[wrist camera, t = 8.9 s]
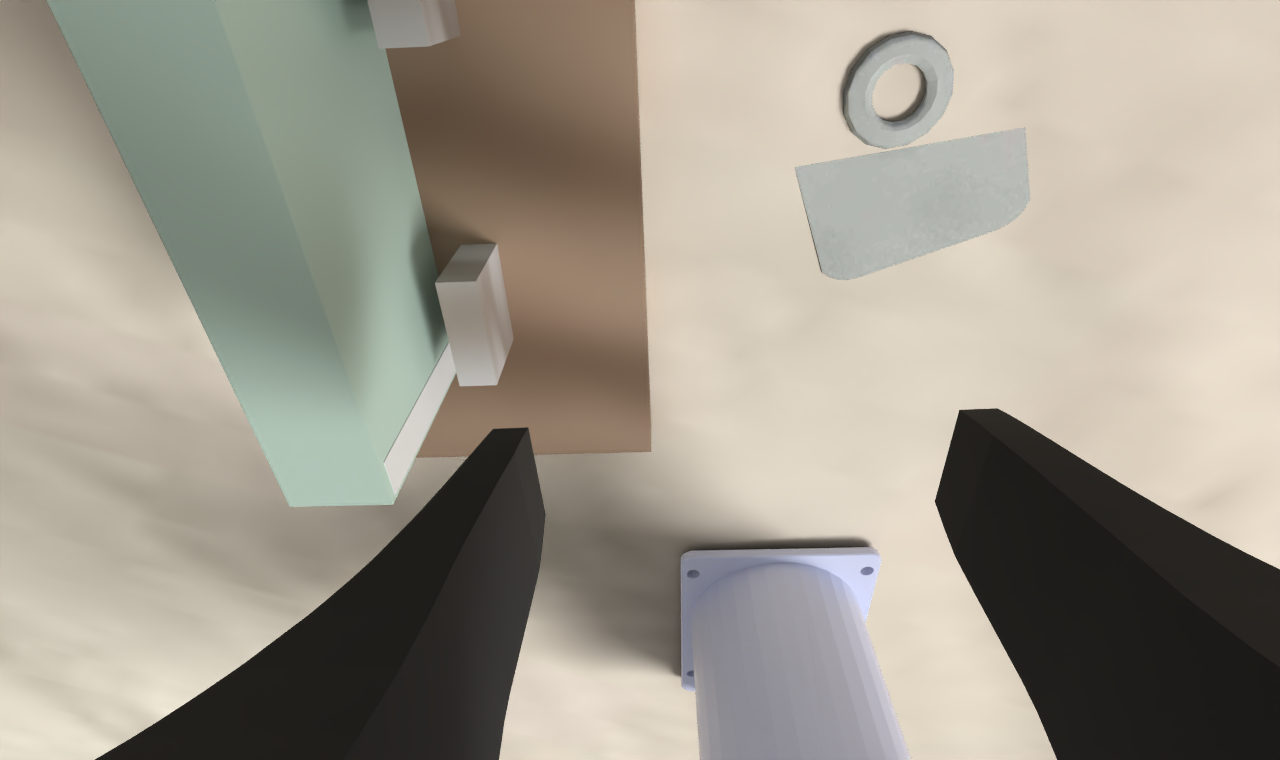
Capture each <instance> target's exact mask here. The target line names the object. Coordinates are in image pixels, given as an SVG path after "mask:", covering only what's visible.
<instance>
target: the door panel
mask: <svg viewBox="0 0 1280 760" xmlns="http://www.w3.org/2000/svg"><path fill="white" fill-rule="evenodd" d="M47 2H48V5H49V7H50V9H51V11H52V13H53V15H54V17H55V19H56V21H57V23H58V25H59V27H60V30H61V32H62V34H63V36H64V38H65V40H66V42H67V44H68V46H69V48H70V50H71V52H72V55H73V57H74V59H75V61H76V63H77V65H78V67H79V69H80V71H81V73H82V75H83V77H84V79H85V82H86V84H87V86H88V88H89V90H90V92H91V94H92V96H93V98H94V100H95V102H96V104H97V107H98V109H99V111H100V113H101V115H102V117H103V119H104V121H105V123H106V125H107V127H108V129H109V132H110V134H111V136H112V138H113V140H114V142H115V144H116V146H117V148H118V150H119V152H120V154H121V157H122V159H123V161H124V163H125V165H126V167H127V169H128V171H129V173H130V175H131V177H132V179H133V181H134V184H135V186H136V188H137V190H138V192H139V194H140V196H141V198H142V200H143V202H144V204H145V206H146V209H147V211H148V213H149V215H150V217H151V219H152V221H153V223H154V225H155V227H156V229H157V231H158V234H159V236H160V238H161V240H162V242H163V244H164V246H165V248H166V250H167V252H168V254H169V256H170V259H171V261H172V263H173V265H174V267H175V269H176V271H177V273H178V275H179V277H180V279H181V281H182V283H183V286H184V288H185V290H186V292H187V294H188V296H189V298H190V300H191V302H192V304H193V306H194V308H195V311H196V313H197V315H198V317H199V319H200V321H201V323H202V325H203V327H204V329H205V331H206V333H207V336H208V338H209V340H210V342H211V344H212V346H213V348H214V350H215V352H216V354H217V356H218V358H219V361H220V363H221V365H222V367H223V369H224V371H225V373H226V375H227V377H228V379H229V381H230V383H231V386H232V388H233V390H234V392H235V394H236V396H237V398H238V400H239V402H240V404H241V406H242V408H243V410H244V413H245V415H246V417H247V419H248V421H249V423H250V425H251V427H252V429H253V431H254V433H255V435H256V438H257V440H258V442H259V444H260V446H261V448H262V450H263V452H264V454H265V456H266V458H267V460H268V463H269V465H270V467H271V469H272V471H273V473H274V475H275V477H276V479H277V481H278V483H279V485H280V488H281V490H282V492H283V494H284V496H285V498H286V500H287V502H288V504H289V506H290V507H314V506H358V505H393V504H394V502H395V500H396V498H397V496H398V493H399V491H400V489H401V487H402V485H403V483H404V481H405V479H406V477H407V475H408V473H409V470H410V468H411V466H412V464H413V462H414V460H415V458H416V456H417V454H418V452H419V450H420V448H421V445H422V443H423V441H424V439H425V437H426V435H427V433H428V431H429V429H430V427H431V425H432V422H433V420H434V418H435V416H436V414H437V412H438V410H439V408H440V406H441V404H442V402H443V400H444V397H445V395H446V393H447V391H448V389H449V387H450V385H451V383H452V381H453V379H454V377H455V374H456V369H455V365H454V361H453V356H452V352H451V348H450V344H449V340H448V336H447V331H446V327H445V323H444V319H443V315H442V310H441V306H440V302H439V298H438V294H437V290H436V285H435V282H436V280H437V279H438V278H439V276H438V272H437V267H436V263H435V259H434V255H433V250H432V246H431V242H430V237H429V233H428V229H427V225H426V220H425V216H424V212H423V208H422V203H421V199H420V195H419V191H418V186H417V182H416V178H415V173H414V169H413V165H412V161H411V156H410V152H409V148H408V144H407V139H406V135H405V131H404V126H403V122H402V118H401V114H400V109H399V105H398V101H397V97H396V92H395V88H394V84H393V80H392V75H391V71H390V67H389V62H388V58H387V54H386V50H385V48H383V49H379V47H378V43H377V39H376V35H375V30H374V26H373V22H372V18H371V14H370V10H369V5H368V1H367V0H47Z"/></svg>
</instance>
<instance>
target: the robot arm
mask: <svg viewBox="0 0 1280 760" xmlns="http://www.w3.org/2000/svg"><path fill="white" fill-rule="evenodd" d="M935 503H936V506H937V509H938V512H939V514H940V517H941V520H942V523H943V526H944V529H945V531H946V534H947V537H948V539H949V542H950V544H951V547H952V549H953V552H954V554H955V557H956V559H957V561H958V563H959V565H960V566H961V568H962V570H963V572H964V574H965V576H966V578H967V580H968V582H969V584H970V585H971V587H972V589H973V591H974V593H975V595H976V597H977V599H978V601H979V602H980V604H981V606H982V608H983V610H984V612H985V613H986V615H987V617H988V619H989V621H990V623H991V625H992V626H993V628H994V630H995V632H996V634H997V636H998V637H999V639H1000V641H1001V643H1002V645H1003V647H1004V649H1005V650H1006V652H1007V654H1008V656H1009V658H1010V660H1011V661H1012V663H1013V665H1014V667H1015V669H1016V671H1017V673H1018V674H1019V676H1020V678H1021V680H1022V682H1023V684H1024V686H1025V688H1026V690H1027V692H1028V694H1029V696H1030V698H1031V700H1032V702H1033V704H1034V706H1035V708H1036V710H1037V713H1038V715H1039V717H1040V720H1041V722H1042V724H1043V727H1044V729H1045V731H1046V734H1047V736H1048V739H1049V741H1050V743H1051V746H1052V748H1053V751H1054V753H1055V755H1056V758H1057V760H1280V569H1278V568H1276V567H1274V566H1272V565H1269V564H1267V563H1265V562H1263V561H1261V560H1259V559H1257V558H1255V557H1253V556H1251V555H1249V554H1247V553H1245V552H1243V551H1241V550H1239V549H1237V548H1235V547H1233V546H1231V545H1230V544H1228V543H1226V542H1224V541H1222V540H1220V539H1218V538H1216V537H1214V536H1212V535H1211V534H1209V533H1207V532H1205V531H1203V530H1202V529H1200V528H1198V527H1196V526H1194V525H1193V524H1191V523H1189V522H1187V521H1185V520H1184V519H1182V518H1180V517H1178V516H1176V515H1175V514H1173V513H1171V512H1169V511H1167V510H1166V509H1164V508H1162V507H1160V506H1159V505H1157V504H1155V503H1153V502H1152V501H1150V500H1148V499H1147V498H1145V497H1143V496H1141V495H1140V494H1138V493H1136V492H1135V491H1133V490H1131V489H1130V488H1128V487H1126V486H1125V485H1123V484H1121V483H1120V482H1118V481H1116V480H1115V479H1113V478H1111V477H1110V476H1108V475H1107V474H1105V473H1103V472H1102V471H1100V470H1098V469H1097V468H1095V467H1093V466H1092V465H1090V464H1089V463H1087V462H1085V461H1084V460H1082V459H1081V458H1079V457H1077V456H1076V455H1074V454H1073V453H1071V452H1069V451H1068V450H1066V449H1065V448H1063V447H1061V446H1060V445H1058V444H1057V443H1055V442H1053V441H1052V440H1050V439H1049V438H1047V437H1045V436H1044V435H1042V434H1040V433H1039V432H1037V431H1036V430H1034V429H1032V428H1031V427H1029V426H1027V425H1026V424H1024V423H1022V422H1021V421H1019V420H1017V419H1016V418H1014V417H1012V416H1010V415H1008V414H1007V413H1005V412H1003V411H1001V410H999V409H973V410H959V414H958V417H957V421H956V425H955V429H954V432H953V436H952V440H951V444H950V447H949V451H948V455H947V458H946V462H945V466H944V470H943V473H942V477H941V481H940V484H939V488H938V492H937V496H936V499H935ZM544 523H545V510H544V505H543V500H542V495H541V490H540V484H539V479H538V474H537V469H536V464H535V459H534V454H533V449H532V443H531V438H530V433H529V428H528V427H525V428H500V429H493V430H492V431H491V432H490V433H489V434H488V435H487V436H486V437H485V438H484V439H483V440H482V442H481V443H480V444H479V445H478V446H477V447H476V449H475V450H474V451H473V452H472V453H471V454H470V456H469V457H468V458H467V459H466V460H465V461H464V463H463V464H462V465H461V466H460V467H459V468H458V470H457V471H456V472H455V473H454V474H453V475H452V476H451V478H450V479H449V480H448V481H447V482H446V483H445V485H444V486H443V487H442V488H441V489H440V490H439V491H438V492H437V493H436V494H435V496H434V497H433V498H432V499H431V500H430V501H429V502H428V503H427V504H426V505H425V507H424V508H423V509H422V510H421V511H420V512H419V513H418V514H417V515H416V516H415V517H414V518H413V520H412V521H411V522H410V523H409V524H408V525H407V526H406V527H405V528H404V529H403V530H402V531H401V532H400V533H399V534H398V535H397V536H396V537H395V538H394V539H393V540H392V541H391V542H390V543H389V544H388V545H387V546H386V547H385V548H384V549H383V550H382V551H381V552H380V553H379V554H378V555H377V556H376V557H375V558H374V559H373V560H372V561H370V562H369V563H368V564H367V565H366V566H365V567H364V568H363V569H362V570H361V571H360V572H359V573H357V574H356V575H355V576H354V577H353V578H352V579H351V580H350V581H348V582H347V583H346V584H345V585H344V586H343V587H341V588H340V589H339V590H338V591H337V592H336V593H334V594H333V595H332V596H331V597H330V598H328V599H327V600H326V601H325V602H324V603H323V604H321V605H320V606H319V607H318V608H317V609H315V610H314V611H313V612H312V613H310V614H309V615H308V616H307V617H305V618H304V619H303V620H301V621H300V622H299V623H297V624H296V625H295V626H293V627H292V628H291V629H289V630H288V631H287V632H285V633H284V634H283V635H281V636H280V637H279V638H277V639H276V640H275V641H274V642H272V643H271V644H270V645H268V646H267V647H266V648H264V649H263V650H262V651H260V652H259V653H258V654H256V655H255V656H254V657H252V658H251V659H250V660H248V661H247V662H246V663H244V664H243V665H241V666H240V667H239V668H237V669H236V670H234V671H233V672H231V673H230V674H229V675H227V676H226V677H224V678H223V679H221V680H220V681H218V682H217V683H215V684H214V685H213V686H211V687H210V688H208V689H207V690H205V691H204V692H202V693H201V694H199V695H198V696H196V697H195V698H193V699H192V700H190V701H189V702H187V703H186V704H184V705H183V706H181V707H179V708H178V709H176V710H175V711H173V712H172V713H170V714H169V715H167V716H166V717H164V718H163V719H161V720H160V721H158V722H156V723H155V724H153V725H152V726H150V727H148V728H147V729H145V730H144V731H142V732H140V733H139V734H137V735H136V736H134V737H132V738H131V739H129V740H127V741H126V742H124V743H122V744H121V745H119V746H117V747H116V748H114V749H112V750H111V751H109V752H107V753H105V754H104V755H102V756H100V757H99V758H97V759H95V760H499V755H500V748H501V741H502V734H503V727H504V720H505V715H506V710H507V705H508V700H509V695H510V691H511V686H512V682H513V678H514V674H515V670H516V666H517V661H518V657H519V653H520V649H521V645H522V641H523V636H524V632H525V628H526V624H527V620H528V616H529V611H530V607H531V603H532V599H533V594H534V590H535V586H536V581H537V577H538V573H539V568H540V560H541V551H542V543H543V533H544ZM880 564H881V557H880V554H879V552H878V551H877V550H876V549H874V548H870V547H852V548H801V549H751V550H700V551H688V552H686V553H684V554H683V555H682V556H681V683H682V687H683V688H684V689H685V690H688V691H695V694H696V709H697V724H698V739H699V754H700V760H911V758H910V755H909V752H908V749H907V746H906V743H905V740H904V737H903V734H902V731H901V728H900V725H899V722H898V719H897V716H896V713H895V710H894V707H893V704H892V701H891V698H890V696H889V693H888V690H887V687H886V684H885V681H884V678H883V675H882V672H881V669H880V666H879V663H878V660H877V657H876V654H875V651H874V648H873V645H872V642H871V639H870V636H869V633H868V630H867V627H866V624H865V623H866V620H867V616H868V612H869V608H870V604H871V600H872V596H873V592H874V588H875V584H876V580H877V576H878V572H879V568H880ZM691 570H694V571H691Z"/></svg>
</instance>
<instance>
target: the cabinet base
mask: <svg viewBox="0 0 1280 760" xmlns="http://www.w3.org/2000/svg"><path fill="white" fill-rule="evenodd" d="M367 1H368V5H369V10H370V14H371V18H372V22H373V26H374V30H375V35H376V39H377V43H378V47H379V49H383V48H385V50H386V54H387V58H388V62H389V67H390V71H391V75H392V80H393V84H394V88H395V92H396V97H397V101H398V105H399V109H400V114H401V118H402V122H403V126H404V131H405V135H406V139H407V144H408V148H409V152H410V156H411V161H412V165H413V169H414V173H415V178H416V182H417V186H418V191H419V195H420V199H421V203H422V208H423V212H424V216H425V220H426V225H427V229H428V233H429V237H430V242H431V246H432V250H433V255H434V259H435V263H436V267H437V272H438V276H439V278H438V279H437V280H436V282H435V285H436V290H437V294H438V298H439V302H440V306H441V310H442V315H443V319H444V323H445V327H446V331H447V336H448V340H449V344H450V348H451V352H452V356H453V361H454V365H455V369H456V374H455V377H454V379H453V381H452V383H451V385H450V387H449V389H448V391H447V393H446V395H445V397H444V400H443V402H442V404H441V406H440V408H439V410H438V412H437V414H436V416H435V418H434V420H433V422H432V425H431V427H430V429H429V431H428V433H427V435H426V437H425V439H424V441H423V443H422V445H421V448H420V450H419V452H418V454H417V456H416V457H455V456H470V454H471V453H472V452H473V451H474V450H475V449H476V447H477V446H478V445H479V444H480V443H481V442H482V440H483V439H484V438H485V437H486V436H487V435H488V434H489V433H490V432H491V431H492V430H493V429H500V428H525V427H528V428H529V433H530V438H531V443H532V449H533V454H534V455H537V454H577V453H618V452H651V414H650V388H649V362H648V336H647V310H646V284H645V258H644V232H643V206H642V180H641V154H640V128H639V102H638V76H637V50H636V23H635V0H367Z"/></svg>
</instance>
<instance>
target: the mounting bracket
mask: <svg viewBox="0 0 1280 760" xmlns="http://www.w3.org/2000/svg"><path fill="white" fill-rule="evenodd" d="M903 63H909V64H913V65H916V66H917V67H918V68H919V69H920V70H921V71H922V72H923V75H924V78H925V80H926V87H925V94H924V97H923V99H922V102H921V104H920V105H919V106H918V108H917V109H916V110H915V111H914V112H913V113H912V114H911V115H909V116H908V117H906V118H904V119H903V120H899V121H893V122H889V121H885V120H883V119H882V118H880V117H879V116H878V115H877V114H876V112H875V110H874V108H873V105H872V93H873V90H874V87H875V85H876V82H877V80H878V79H879V78H880V77H881V76H882V74H883V73H884V72H885V71H887V70H888V69H890V68H891V67H893V66H894V65H898V64H903ZM953 76H954V71H953V68H952V65H951V62H950V59H949V56H948V53H947V50H946V49H945V48H944V47H943V46H942V45H940V44H939V43H938V42H937V41H936V40H935V39H934V38H933V37H932V36H929V35H925V34H921V33H917V32H913V31H908V32H903V33H898V34H893V35H889V36H887V37H885V38H884V39H882V40H881V41H879V42H878V43H876V44H874V45H873V46H871V47H870V48H868V49H867V50H866V51H865V53H864V54H863V55H862V57H861V58H860V59H859V60H858V62H857V63H856V64H855V65H854V67H853V68H852V69H851V72H850V75H849V78H848V81H847V83H846V86H845V89H844V92H843V111H844V116H845V119H846V121H847V123H848V125H849V128H850V130H851V132H852V133H853V134H854V135H855V136H856V137H858V138H859V139H860V140H861V141H862V142H864V143H865V144H866V145H870V146H874V147H878V148H883V149H888V148H894V147H899V146H904V145H908V144H910V143H911V142H913V141H915V140H916V139H918V138H920V137H921V136H923V135H925V134H926V133H928V132H929V131H930V130H931V128H932V127H933V126H934V125H935V124H936V123H937V122H938V121H939V119H940V118H941V117H942V116H943V114H944V112H945V110H946V107H947V105H948V103H949V100H950V98H951V96H952V90H953ZM795 171H796V174H797V178H798V182H799V186H800V190H801V193H802V197H803V201H804V205H805V209H806V213H807V216H808V220H809V224H810V228H811V232H812V236H813V239H814V243H815V247H816V251H817V255H818V259H819V262H820V266H821V270H822V273H824V274H825V275H827V276H829V277H830V278H834V279H837V280H849V279H855V278H859V277H862V276H864V275H867V274H870V273H873V272H876V271H879V270H882V269H885V268H888V267H891V266H893V265H896V264H899V263H902V262H905V261H908V260H911V259H914V258H917V257H920V256H923V255H925V254H928V253H931V252H934V251H937V250H940V249H943V248H946V247H949V246H952V245H955V244H957V243H960V242H963V241H966V240H969V239H972V238H975V237H978V236H981V235H984V234H987V233H989V232H992V231H995V230H998V229H1000V228H1002V227H1004V226H1006V225H1008V224H1009V223H1011V222H1012V221H1013V220H1015V219H1016V218H1017V217H1018V216H1019V215H1020V214H1021V213H1022V212H1023V211H1024V209H1025V208H1026V206H1027V204H1028V203H1029V201H1030V190H1029V176H1028V161H1027V147H1026V133H1025V127H1024V128H1019V129H1013V130H1007V131H1001V132H995V133H990V134H984V135H978V136H972V137H967V138H961V139H955V140H949V141H944V142H938V143H932V144H926V145H921V146H915V147H909V148H903V149H898V150H892V151H886V152H880V153H875V154H869V155H863V156H857V157H852V158H846V159H840V160H834V161H829V162H823V163H817V164H811V165H806V166H800V167H795Z"/></svg>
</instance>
